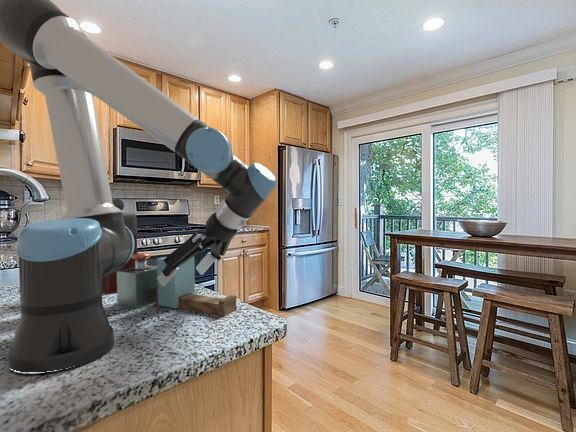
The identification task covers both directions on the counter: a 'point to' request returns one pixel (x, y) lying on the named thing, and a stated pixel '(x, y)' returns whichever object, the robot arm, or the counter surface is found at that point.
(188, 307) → the rail
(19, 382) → the counter surface
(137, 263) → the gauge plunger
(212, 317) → the counter surface
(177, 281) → the carriage
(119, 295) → the grey button housing
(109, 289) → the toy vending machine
